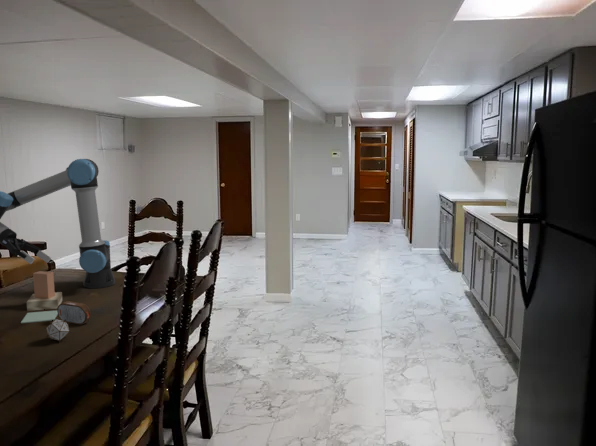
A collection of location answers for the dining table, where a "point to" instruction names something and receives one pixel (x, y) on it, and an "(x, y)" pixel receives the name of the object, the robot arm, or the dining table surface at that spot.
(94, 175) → the robot arm
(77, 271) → the dining table surface
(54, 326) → the game die
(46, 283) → the tan upright block
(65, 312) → the portable speaker
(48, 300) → the beige stone slab
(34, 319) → the mat
